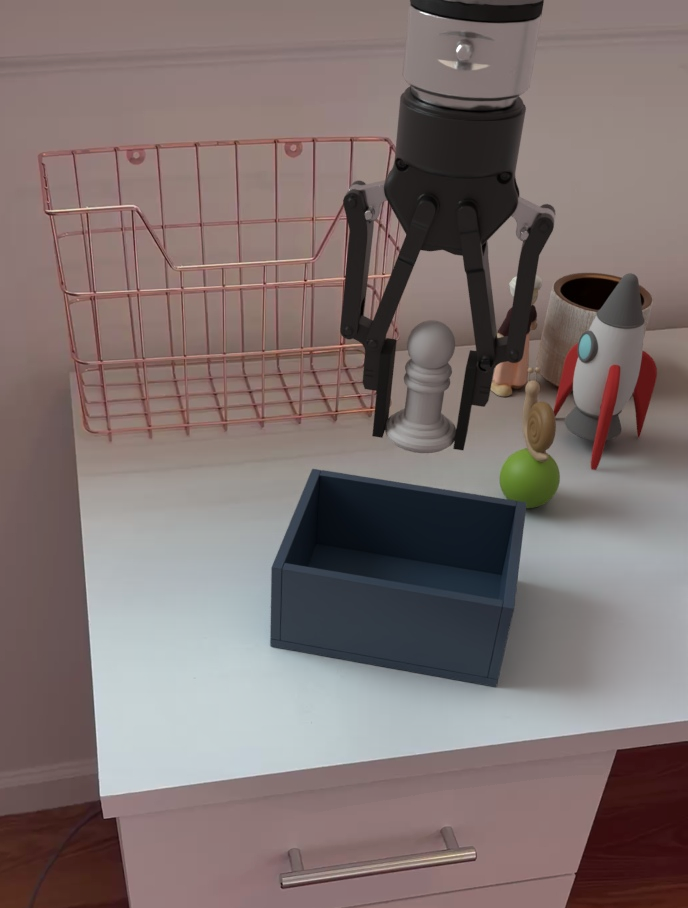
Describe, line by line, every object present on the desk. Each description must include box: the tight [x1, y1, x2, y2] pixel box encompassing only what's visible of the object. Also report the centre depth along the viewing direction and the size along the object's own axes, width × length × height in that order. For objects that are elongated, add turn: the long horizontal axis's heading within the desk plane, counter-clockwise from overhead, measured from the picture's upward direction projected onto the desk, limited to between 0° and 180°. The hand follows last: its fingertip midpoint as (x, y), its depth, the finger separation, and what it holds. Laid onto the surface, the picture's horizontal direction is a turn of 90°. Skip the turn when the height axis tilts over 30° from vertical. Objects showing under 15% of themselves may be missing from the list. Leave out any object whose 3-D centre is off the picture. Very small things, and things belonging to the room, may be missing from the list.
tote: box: [269, 468, 527, 688], centre depth 81 cm, size 18×14×8 cm
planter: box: [535, 272, 654, 394], centre depth 112 cm, size 11×11×10 cm
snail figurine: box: [499, 366, 561, 509], centre depth 92 cm, size 5×6×12 cm
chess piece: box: [384, 319, 457, 454], centre depth 74 cm, size 5×5×9 cm
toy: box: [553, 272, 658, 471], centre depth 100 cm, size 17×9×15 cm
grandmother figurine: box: [490, 274, 543, 397], centre depth 109 cm, size 8×4×13 cm, turn 150°
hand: (420, 433), depth 76 cm, fingers closed on chess piece, 5 cm apart
